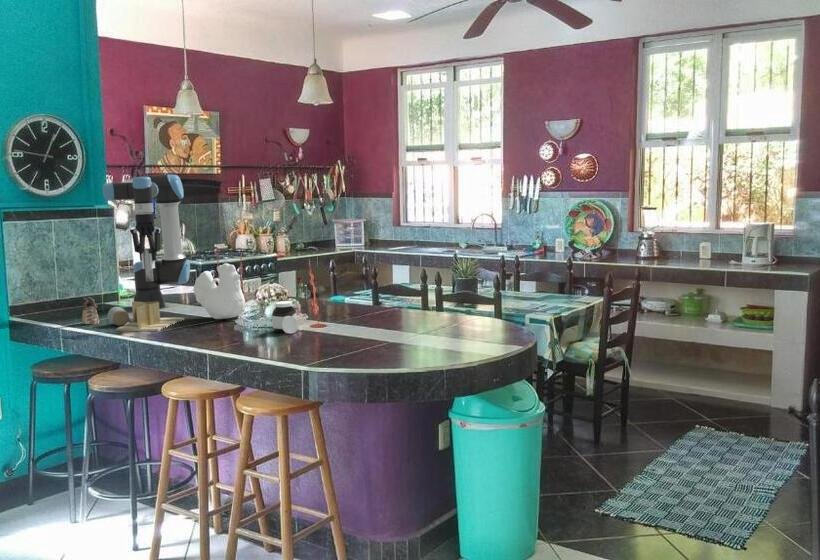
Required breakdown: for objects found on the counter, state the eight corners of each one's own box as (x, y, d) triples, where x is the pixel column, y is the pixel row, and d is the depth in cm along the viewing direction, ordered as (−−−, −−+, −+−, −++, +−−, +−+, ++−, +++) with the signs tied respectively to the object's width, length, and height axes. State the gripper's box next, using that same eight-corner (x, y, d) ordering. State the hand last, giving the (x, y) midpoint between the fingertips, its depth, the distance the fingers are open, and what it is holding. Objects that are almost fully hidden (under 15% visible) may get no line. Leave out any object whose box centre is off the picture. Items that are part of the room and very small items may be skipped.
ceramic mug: (113, 327, 334) (112, 309, 333) (107, 324, 341) (106, 307, 340) (138, 324, 341) (137, 307, 340) (132, 321, 347) (131, 304, 346)
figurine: (102, 322, 346) (100, 296, 344) (87, 325, 341) (85, 298, 339) (94, 321, 350) (92, 295, 349) (79, 324, 345) (76, 297, 343)
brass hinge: (134, 321, 341) (133, 301, 340) (164, 321, 339) (162, 301, 337) (116, 328, 326) (114, 307, 325) (146, 328, 324) (145, 307, 323)
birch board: (144, 319, 350) (144, 317, 349) (184, 319, 346) (184, 317, 346) (116, 330, 326) (116, 328, 326) (158, 330, 323) (158, 328, 323)
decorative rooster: (254, 316, 348) (250, 261, 344) (227, 323, 335) (223, 266, 332) (216, 312, 362) (212, 259, 359) (189, 318, 349) (185, 263, 346)
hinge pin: (148, 280, 335) (145, 248, 333) (154, 280, 334) (152, 248, 332) (144, 281, 332) (142, 249, 330) (151, 281, 331) (148, 248, 329)
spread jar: (285, 327, 320) (283, 300, 319) (307, 329, 315) (306, 301, 313) (267, 333, 310) (265, 305, 308) (290, 335, 305) (288, 306, 303)
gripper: (122, 214, 327) (127, 269, 330) (157, 213, 324) (162, 269, 327) (131, 213, 334) (136, 267, 337) (166, 212, 332) (170, 267, 335)
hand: (148, 268), depth 332 cm, fingers closed on hinge pin, 3 cm apart
